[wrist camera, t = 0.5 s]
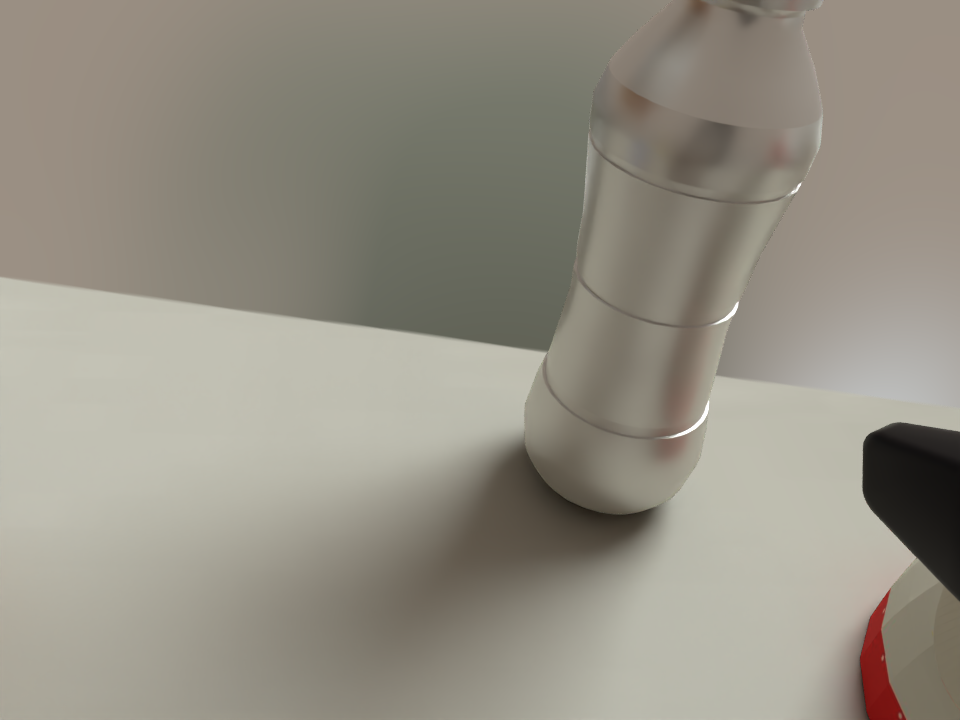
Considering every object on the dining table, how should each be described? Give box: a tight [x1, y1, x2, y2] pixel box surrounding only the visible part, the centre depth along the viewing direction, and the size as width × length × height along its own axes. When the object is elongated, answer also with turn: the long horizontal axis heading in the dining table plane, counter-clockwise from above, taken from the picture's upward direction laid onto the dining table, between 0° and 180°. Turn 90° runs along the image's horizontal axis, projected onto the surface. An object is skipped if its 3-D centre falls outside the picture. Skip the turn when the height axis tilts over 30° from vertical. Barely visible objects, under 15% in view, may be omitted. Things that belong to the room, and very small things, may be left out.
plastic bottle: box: [524, 0, 823, 514], centre depth 28 cm, size 6×7×20 cm
